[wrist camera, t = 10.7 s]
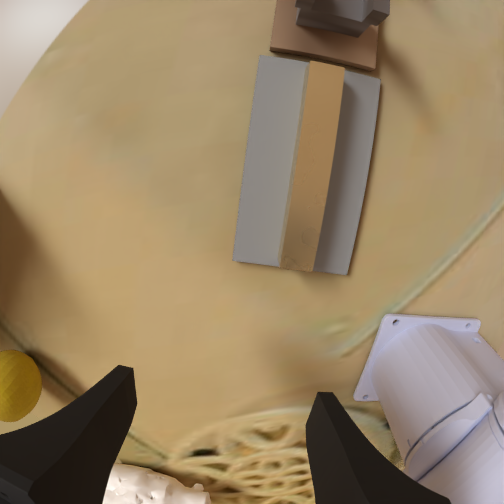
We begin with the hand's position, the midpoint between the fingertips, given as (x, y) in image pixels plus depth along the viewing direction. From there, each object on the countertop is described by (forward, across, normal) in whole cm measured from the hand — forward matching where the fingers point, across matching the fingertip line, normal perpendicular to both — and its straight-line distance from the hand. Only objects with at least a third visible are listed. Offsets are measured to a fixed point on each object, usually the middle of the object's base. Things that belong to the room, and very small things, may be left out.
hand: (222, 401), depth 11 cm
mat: (+9, -3, -8) cm, 13 cm away
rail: (+9, -3, -9) cm, 13 cm away
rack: (+9, -3, -22) cm, 24 cm away
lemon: (+10, +18, +10) cm, 23 cm away
